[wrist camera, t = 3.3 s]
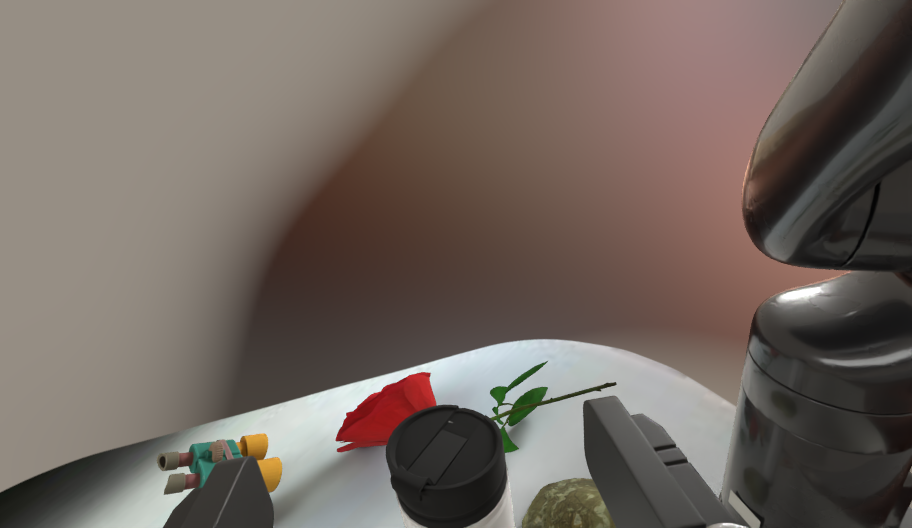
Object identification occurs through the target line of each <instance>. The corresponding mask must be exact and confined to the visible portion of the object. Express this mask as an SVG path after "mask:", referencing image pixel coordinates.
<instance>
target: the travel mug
mask: <svg viewBox="0 0 912 528" xmlns="http://www.w3.org/2000/svg"><path fill="white" fill-rule="evenodd" d="M386 459H387V463H388V467H389V470H390V473H391V479H390V480H391V484H392V488H393V489H394V490H395V491H396V496H397V500H398V504H399V507H400V510H401V514H402V517H403V521H404V524H405V527H406V528H515V522H514V514H513V506H512V499H511V491H510V483H509V478H508V469H507V465H506V462H505V453H504V445H503V437H502V434H501V431H500V429H499V427H498V426H497V424H496V423H495V422H494V421H493V420H491V419H490V418H489V417H487V416H486V415H485V416H484V415H483V414H481V413H479V412H476V411H474V410H470V409H466V408H458V406H456V405H438V406H433V407H429V408H426V409H423V410H420V411H418V412H416V413H414V414H412V415H410V416H409V417H407V418H406V419H405V420H403V421H402V422H401V423H400V424H399V425H398V426H397V427H396V428H395V429H394V431H393V432H392V434H391V436H390V437H389V439H388V443H387V446H386Z"/></svg>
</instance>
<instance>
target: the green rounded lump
mask: <svg viewBox="0 0 912 528" xmlns="http://www.w3.org/2000/svg"><path fill="white" fill-rule="evenodd" d="M522 528H616V526H615V524H614V522H613V520H612V518H611V516H610V514H609V512H608V510H607V508H606V506H605V503H604V501H603V499H602V497H601V495H600V493H599V491H598V489H597V487H596V485H595V483H594V481H593V480H592V479H584V478H581V479H577V478H573V479H569V480H563V481H560V482H557V483H552V484H548V485H547V486H545V487H543V488H542V489H541V490H540V492H539V493H538V494H537V496H536V497H535V499H534V500H533V501H532V504H531V505H530V507H529V509H528V511H527V514H526V515H525V517H524V518H523V520H522Z"/></svg>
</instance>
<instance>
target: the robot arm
mask: <svg viewBox="0 0 912 528" xmlns="http://www.w3.org/2000/svg"><path fill="white" fill-rule="evenodd" d="M742 214H743V220H744V224H745V227H746V230H747V232H748V234H749V236H750V238H751V240H752V242H753V243H754V244H755V246H756V247H757V248H758V249H759V250H760V251H761V252H762V253H764V254H765V255H766V256H768V257H770V258H771V259H774V260H776V261H779V262H781V263H784V264H788V265H793V266H798V267H805V268H815V269H829V270H830V269H834V270H850V271H849V272H846V273H844V274H841V275H839V276H836V277H833V278H830V279H827V280H823V281H819V282H815V283H811V284H807V285H803V286H798V287H794V288H791V289H787V290H784V291H781V292H779V293H777V294H774V295H772V296H771V297H769V298H768V299H766V300H765V301H764V302H763V303H762V304H761V305H760V306H759V307H758V308H757V310H756V312H755V314H754V317H753V320H752V324H751V329H750V335H749V341H748V347H747V352H746V358H745V363H744V369H743V374H742V380H741V386H740V392H739V397H738V403H737V408H736V414H735V419H734V425H733V430H732V436H731V441H730V447H729V453H728V458H727V464H726V469H725V474H724V480H723V486H722V491H721V493H720V495H719V499H718V498H717V496H716V495H715V494H714V493H713V491H712V490H711V489H710V487H709V486H708V485H707V484H706V482H705V481H704V480H703V479H702V477H701V476H700V475H699V473H698V472H697V471H696V470H695V468H694V467H693V466H692V464H691V463H688V461H687V458H686V457H685V455H684V454H683V453H682V452H681V450H680V449H679V448H677V447H676V444H675V443H674V441H673V440H672V439H671V437H670V436H669V435H668V434H667V432H666V431H665V430H664V429H663V427H662V426H660V425H659V424H657V423H656V422H654V421H653V420H651V419H650V418H648V417H647V416H645V415H644V414H637V415H631V416H630V414H629V413H628V411H627V410H626V409H625V407H624V406H623V404H622V403H621V402H620V400H619V399H618V398H617V397H616V396H609V397H604V398H598V399H592V400H586V401H584V404H583V418H584V449H585V457H586V461H587V465H588V469H589V472H590V474H591V477H592V479H593V481H594V483H595V485H596V487H597V489H598V491H599V493H600V495H601V497H602V499H603V501H604V503H605V506H606V508H607V510H608V512H609V514H610V516H611V518H612V520H613V522H614V524H615V526H616V528H912V509H911V508H910V507H909V505H910V503H911V501H912V473H911V472H910V469H911V466H912V0H843V1H842V3H841V4H840V6H839V8H838V10H837V11H836V13H835V14H834V16H833V17H832V19H831V21H830V22H829V24H828V25H827V27H826V28H825V30H824V31H823V33H822V34H821V36H820V38H819V39H818V41H817V42H816V44H815V45H814V47H813V48H812V50H811V51H810V53H809V54H808V56H807V58H806V59H805V60H804V62H803V63H802V65H801V67H800V68H799V70H798V71H797V73H796V74H795V76H794V77H793V79H792V80H791V82H790V83H789V85H788V87H787V88H786V90H785V91H784V93H783V94H782V96H781V97H780V99H779V100H778V102H777V104H776V105H775V107H774V109H773V110H772V112H771V114H770V115H769V117H768V119H767V121H766V122H765V125H764V126H763V128H762V130H761V132H760V134H759V137H758V138H757V141H756V143H755V146H754V148H753V150H752V153H751V156H750V159H749V162H748V166H747V169H746V173H745V178H744V183H743V188H742ZM273 520H274V511H273V504H272V501H271V498H270V495H269V492H268V490H267V487H266V484H265V481H264V478H263V476H262V473H261V470H260V467H259V464H258V462H257V460H256V458H255V457H254V456H246V457H240V458H234V459H228V460H222V461H219V462H217V463H216V464H215V465H214V467H213V469H212V471H211V472H210V474H209V476H208V478H207V480H206V482H205V483H204V485H203V487H202V488H197V489H193V490H192V491H191V492H190V493H189V495H188V496H187V497H186V498H185V499H184V500H183V501H182V502H181V503H180V504H179V505H178V506H177V507H176V508H175V509H174V510H173V511H172V513H171V515H170V517H169V518H168V520H167V522H166V523H165V525H164V527H163V528H273Z"/></svg>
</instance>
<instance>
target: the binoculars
mask: <svg viewBox="0 0 912 528" xmlns="http://www.w3.org/2000/svg"><path fill="white" fill-rule="evenodd" d="M267 449H268V437H267V435H266V434H264V433H263V434H256V435H249V436H243V437H242V438H241V440H240V442H237V443H236V442H235V441H234V440H217V441H216V442H207V443H199V444H192V445H191V447H190V449H189V452H188V453H179V452H170V453H161V454H159V455H158V457H157V463H158V466H159V468H160V469H161V470H162V471H167V470H175V469H177V467H184V466H189V469H190V472H191V473H195V474H187V475H185V474H184V473H180V474H172V475H170V476H169V478H168V483H167V485H166V488H165V490H164V495H166V494H173V493H179V492H183V490H185V489H192V488H195V489H197V488H202V487H203V485H204V483H205V482H206V480H207V478H208V476H209V474H210V472H211V471H212V469H213V467H214V465H215V464H216V463H217V462H219V461H222V460H228V459H234V458H240V457H246V456H254V457H255V458H256V460H257V462H258V464H259V467H260V470H261V473H262V476H263V478H264V481H265V484H266V487H267V490H268V492H272V491H274V490H275V489H276V487H277V486H278V484H279V482H280V479H281V475H282V463H281V460H280V459H279V458H278V457H275V458H270V459H264V458H265V455H266V452H267ZM263 459H264V460H263Z"/></svg>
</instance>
